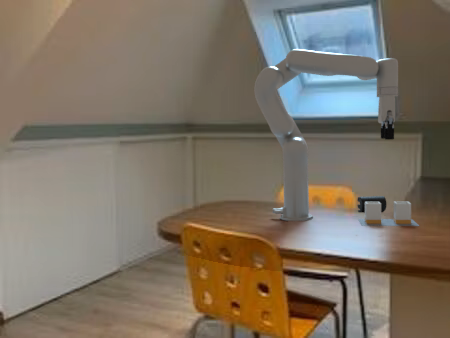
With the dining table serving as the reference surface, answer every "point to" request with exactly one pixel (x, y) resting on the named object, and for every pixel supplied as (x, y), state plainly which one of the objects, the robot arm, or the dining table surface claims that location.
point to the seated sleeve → (373, 212)
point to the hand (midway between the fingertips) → (387, 138)
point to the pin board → (387, 223)
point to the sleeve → (402, 212)
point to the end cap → (371, 199)
